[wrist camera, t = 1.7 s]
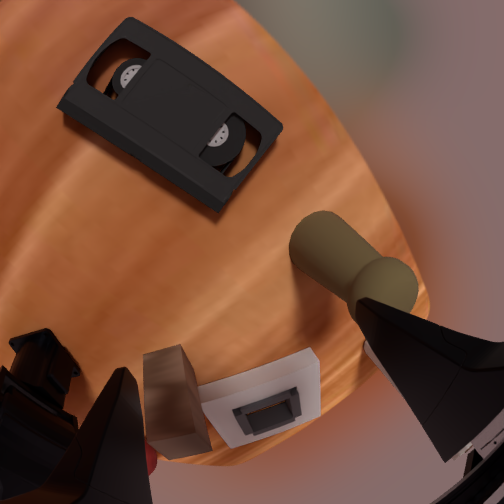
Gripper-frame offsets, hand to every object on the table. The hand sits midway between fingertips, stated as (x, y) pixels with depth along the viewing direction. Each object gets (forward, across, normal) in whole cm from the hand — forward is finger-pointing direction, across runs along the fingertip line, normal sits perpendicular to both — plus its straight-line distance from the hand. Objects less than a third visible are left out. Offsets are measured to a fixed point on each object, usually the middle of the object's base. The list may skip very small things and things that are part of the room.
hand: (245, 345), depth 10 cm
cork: (+14, -9, +5) cm, 17 cm away
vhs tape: (+14, +1, -9) cm, 17 cm away
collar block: (+13, -1, +25) cm, 28 cm away
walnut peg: (+13, +7, +13) cm, 20 cm away
